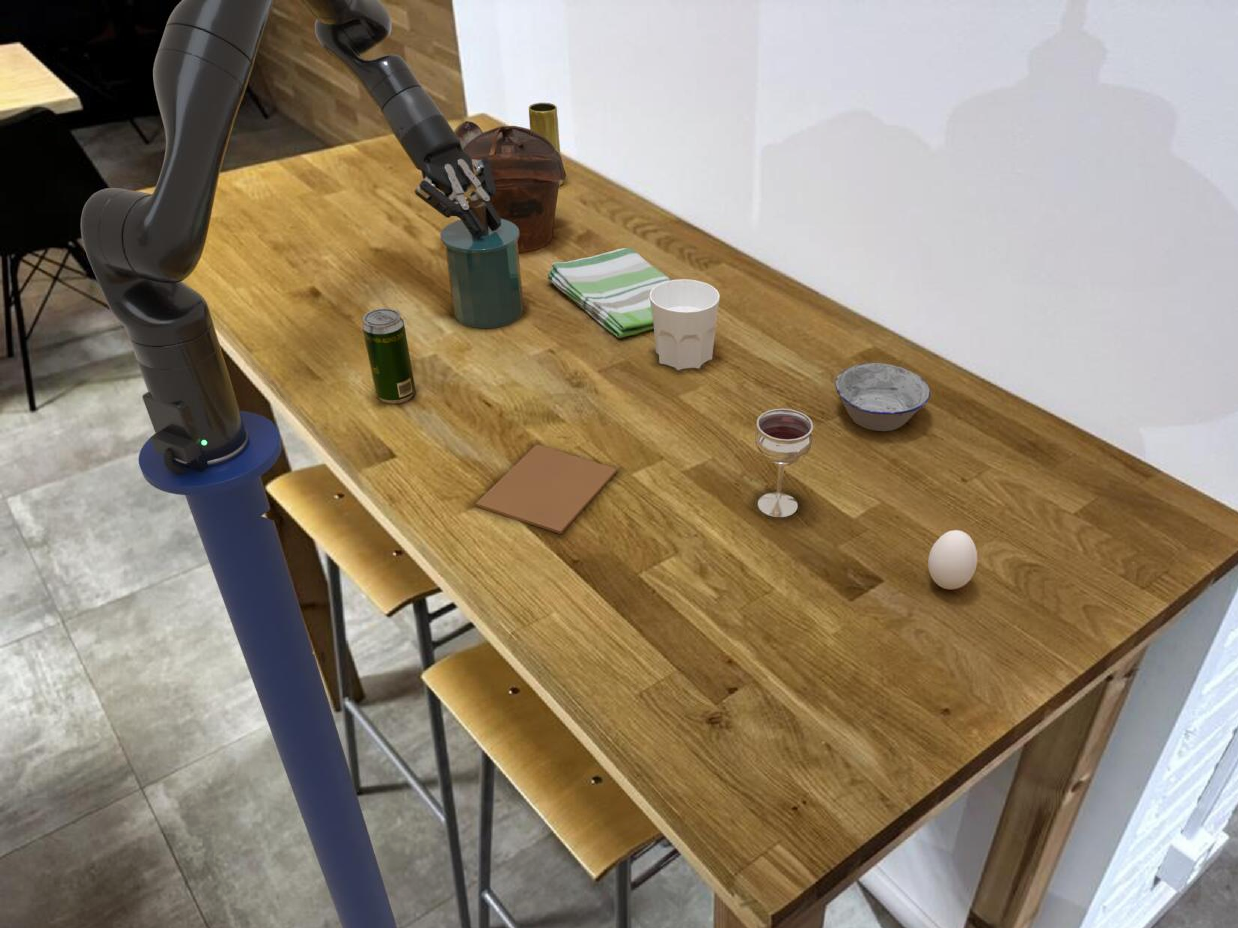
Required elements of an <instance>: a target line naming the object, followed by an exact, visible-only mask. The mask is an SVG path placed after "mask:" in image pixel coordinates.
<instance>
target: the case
mask: <svg viewBox="0 0 1238 928" xmlns="http://www.w3.org/2000/svg"><path fill="white" fill-rule="evenodd" d="M462 150H463V151H464V152H465V153H466V154H468V155H469V156H470V157H471V159H475V160H481V159H482V158H483V157H486V158H488V160H489V162H490V166H491V171H492V175H493V180H494V184H495V189H496V193H495V194H494V195H493V196H492V197H491V199H490V203H491V204H492V206H493V207H494V209H495V210H496V212H497V213H498V215H499V216H500V218H501V219H505V220H507V221H510V222H512V223H514V224H515V225H516V226H517V227H518V229H519V234H520V236H519V239H518V240H517V242H518V253H526V252H530V251H534V250H538V249H540V248H542V247H544V246H546V245H548V243H550V241H551V240H552V238H553V237H554V231H555V228H554V227H555V217H556V211H557V202H558V194H559V188H560V186H559V183H560V181H559V180H560V179H561V180H564V181H565V180H566V178H567V173H566V170H565V166H564V162H563V158H562V155H561V156H560V154H559V153H558V152H557V150H555V148H554V146H553V145H552V144H551V143H550V142H549V141H548V140H547V139H546V138H545V137H544V136H542V135H541V134H539V133H537V132H535V131H533V130H530V128H526V127H523V126H518V125H505V126H504V125H502V126H497V127H495V128H491V129H489V130H487V131H486V130H485V131H484V132H483V133H482V134H480V135H478V136H477V137H475V138H474V139H473V140H471V141H470V142H469V143H468V144H467V145H466V146H465V147H464V149H462ZM472 171H473V169H472ZM473 174H474V171H473ZM476 177H477V176H476ZM477 179H478V178H477ZM470 187H471V184H470V185H469V188H470ZM478 197H479V196H478ZM479 198H480V197H479ZM465 199H466V201H467V203H469V202H470V201H471V200H470V199H469V198H465Z"/></svg>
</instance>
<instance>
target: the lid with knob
mask: <svg viewBox="0 0 1238 928" xmlns="http://www.w3.org/2000/svg"><path fill="white" fill-rule="evenodd" d="M467 203H468V202H467ZM468 205H469V210H470V209H472V210H473V211H474V213H475V214H476V216H477V217H478V219H479V220H480V222H481V223H482V225H483V226H484V228H485V233H484V234H483V235H482V236H481V237H479V238H476V237H475V236H473V235H472V234H470V232H469V231H468V229H467V228H466V226H465V225H464V223H463V222H462V220H461V219H457V220H455V221H453V222H451V223H449V224H447V225H445V226H444V227H443V228H442V229H441V231H440V234H439V237H440V241H441V243H442V244H443V245H444V247H445V246H446V247H448V248H450V249H452V250H455V251H459V252H464V253H489V252H495V251H499V250H503V249H505V248H508V247H510V246H512V245H513V244H514V243H516V242H517V240H518V239H519V236H520V234H519V229H518V227H517V226H516V225H515V224H514V223H512V222H510V221H507V220H505V219H501V218H500V219H501V226H500V227H499V228H498V229H497V230H495V231H491V229H490V228H489V226H488V220H487V211H486V203H485V202H484V201H481V200H474V201H470V202H469V203H468Z"/></svg>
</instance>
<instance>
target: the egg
mask: <svg viewBox="0 0 1238 928" xmlns="http://www.w3.org/2000/svg"><path fill="white" fill-rule="evenodd" d="M927 567H928V568H927V569H928V572H929V575H930V577H931V579H932V580H933V582H934V583H935V584H936V585H937V586H939V587H941V588H942V589H945V590H956V589H960V588H962V587H964V586H965V585H967V584H968V583H969V582H970V581H971V580H972V578H973V576H974V575H975V573H976V570H977V567H978V551H977V548H976V544H975V543H974V541H973V538H971V536H970V535H969V534H968V533H966V532H964V531H963V530H959V529H954V530H949V531H946V532H945V533H943V534H942V535H941V536H940V537H939V538H938V539H936V541H935V542H934V543H933V545H932V547H931V549H930V551H929V555H928V559H927Z"/></svg>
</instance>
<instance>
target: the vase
mask: <svg viewBox="0 0 1238 928" xmlns="http://www.w3.org/2000/svg"><path fill="white" fill-rule="evenodd" d="M528 118H529V119H528V121H529V129H530V130H533V131H535V132H537V133H539V134H541V135H542V136H544V137H545V138H546V139H547V140H548V141H549V142H550V143H551V144H552V145H553V146H554V148H555V150H557V152H558V153H559V154H560V156H561V157H562V153H561V144H560V133H559V132H560V131H559V118H558V107H557V106H556V105H555V104H554V103H551V102H536V103H532V104H530V105H529V106H528ZM559 181H560V183H559V187H560V186H561V185H563V184H564V182H565V179H564V180H561V179H560V180H559Z"/></svg>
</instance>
